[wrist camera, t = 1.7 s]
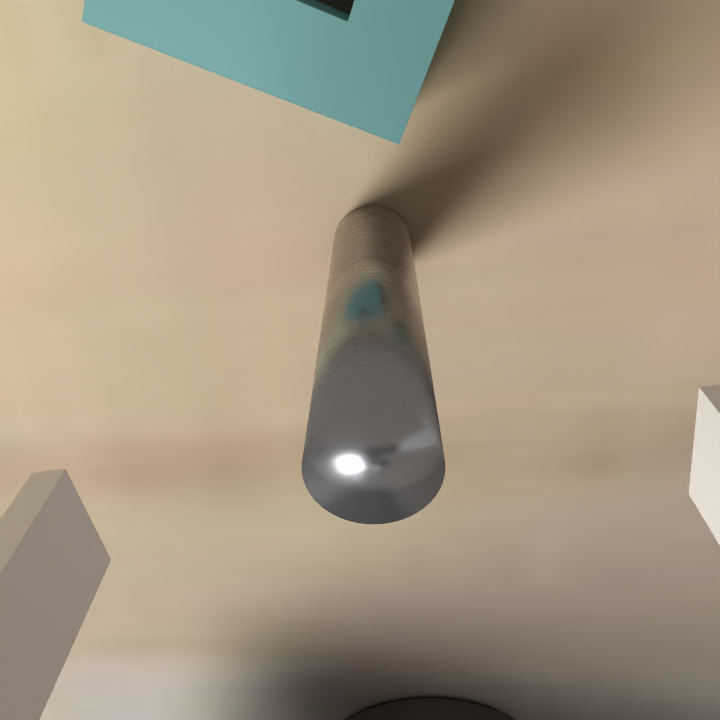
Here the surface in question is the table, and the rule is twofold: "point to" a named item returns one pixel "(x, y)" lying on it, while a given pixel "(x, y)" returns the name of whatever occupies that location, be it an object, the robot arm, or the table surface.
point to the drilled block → (297, 49)
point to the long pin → (373, 381)
